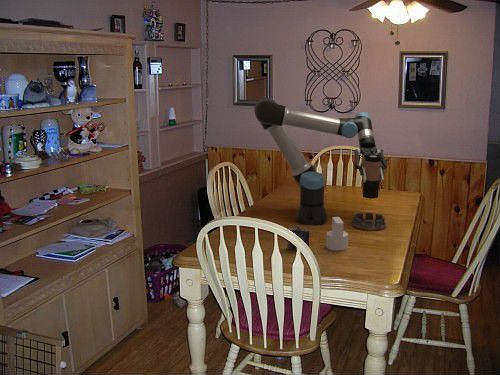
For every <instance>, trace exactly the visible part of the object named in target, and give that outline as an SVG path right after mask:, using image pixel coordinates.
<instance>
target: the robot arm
mask: <svg viewBox="0 0 500 375" xmlns="http://www.w3.org/2000/svg"><path fill="white" fill-rule="evenodd" d="M253 111H254V115H255V118H256V119H257V121H258V122H259V124H260V125H261V126H262V128H263V130H264V131H268V133H269V134H270V135H271V137H272V139H273V141H274V142H275V144H276V145H277V147H278V149H279V151H280V152H281V154H282V156H283V157H284V159H285V161H286V162H287V164H288V165H289V167H290V169H291V170H292V173H291V177H292V178H293V179H294V181H295V182H296V184H297V187H298V189H299V191H300V192H299V208H298V210H297V213H296V216H295V217H296V218H295V220H296V222H297V223H298V224H300V225H309V226H319V225H324V224H326V223H327V222H328V216H327V212H326V208H325V183H326V181H325V180H326V179H325V176H324V174H323V173H321V172H317V170H316V168H315V167H314V165H313V164H312V163H311V162H308V160H307V159H306V157H305V156H304V154H303V152H302V150H301V149H300V148H299V145H298V143H297V142H296V140H295V139H294V137H293V135H292V134H291V132H290V130H289V128H288V127H287V126H290V127H294V128H295V127H296V128H300V129H306V130H310V131H316V132H320V133H327V134H332V135H336V136H340V137H344V138H346V139H352V138H354V137H355V136H356V135H357V137H358V144H359V149H357V148H356V149H355V150H354V152H353V154H354V156H355V157H354V158H355V161H354V162H355V165H354V169H355V170H358V171H359V175H360V176H361V177H362V183H363V182H364V183H365V182H366V174H365V168H364V163H365V155H366V154H372V155H381V170H380V183H383V182H384V179H385V178H384V175H385V170H386V169H387V167H388V163H387V161H386V158H385V155H384V150H383V149H382V148H381V149H378V148H377V147H376V141H375V135H374V130H373V124H372V119H371V115H370V114H369V113H368V112H366V111H362V112H359V113H356V114H355V117H343V118H342V117H338V118H335V117H331V116H326V115H320V114H316V113H310V112H306V111H300V110H297V109H291V108H288V107H287V106H286V105H283V104H279V103H277V102H276V100H274V99H273V98H270V97H263V98H260V99H259V100H257V101H256V103H255V105H254V110H253ZM360 154H361V156H362V159H361V162H360Z"/></svg>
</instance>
